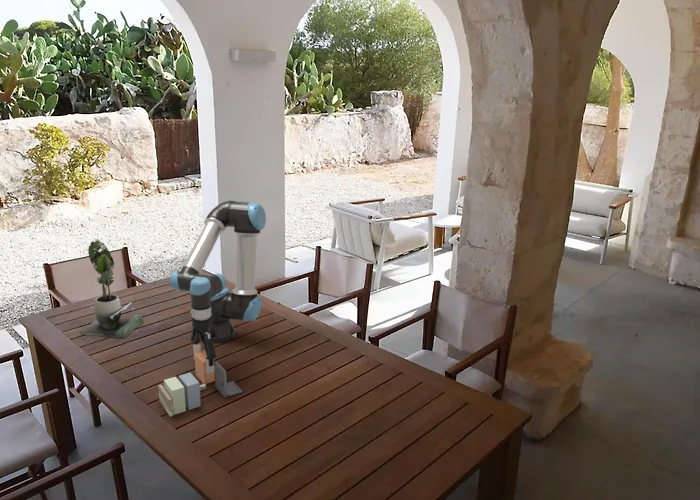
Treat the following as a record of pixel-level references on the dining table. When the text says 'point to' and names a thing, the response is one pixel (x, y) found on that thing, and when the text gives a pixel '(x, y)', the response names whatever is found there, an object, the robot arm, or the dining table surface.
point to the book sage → (176, 394)
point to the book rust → (203, 368)
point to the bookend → (224, 382)
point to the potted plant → (108, 300)
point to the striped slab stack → (169, 398)
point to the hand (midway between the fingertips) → (203, 365)
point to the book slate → (190, 390)
